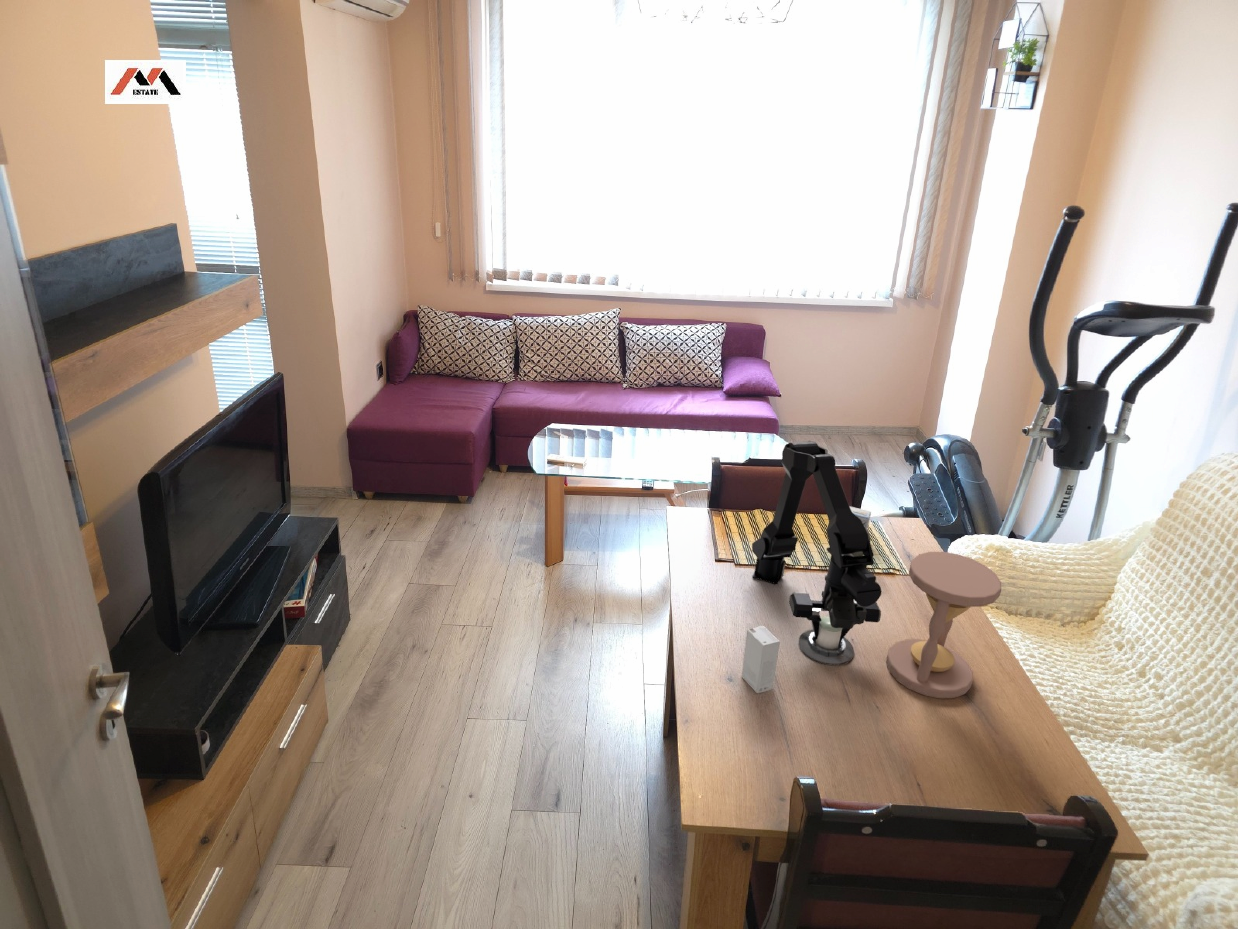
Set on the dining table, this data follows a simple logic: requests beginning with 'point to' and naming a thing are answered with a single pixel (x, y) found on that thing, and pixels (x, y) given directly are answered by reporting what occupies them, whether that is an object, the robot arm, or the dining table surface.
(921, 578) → the hourglass
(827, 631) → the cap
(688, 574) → the dining table surface
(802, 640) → the collar
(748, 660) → the skincare box
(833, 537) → the robot arm
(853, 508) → the medicine box
